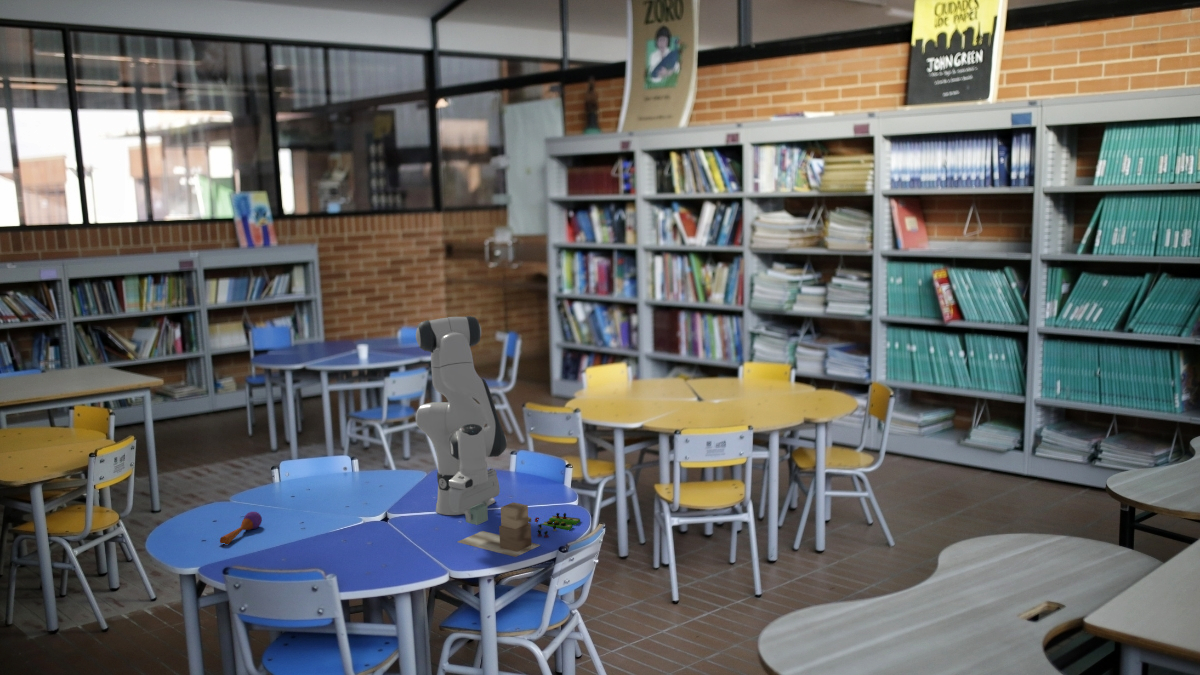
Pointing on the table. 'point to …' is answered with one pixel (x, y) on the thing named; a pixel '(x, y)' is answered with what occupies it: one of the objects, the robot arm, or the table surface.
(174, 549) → the table surface
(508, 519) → the oak middle block
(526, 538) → the walnut base block
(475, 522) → the sage cube
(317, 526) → the table surface
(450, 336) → the robot arm
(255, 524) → the orange and purple maraca
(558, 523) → the toy garden set
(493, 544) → the birch board
